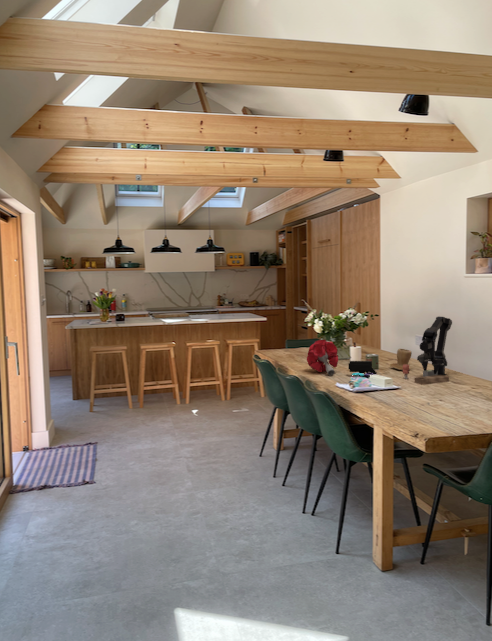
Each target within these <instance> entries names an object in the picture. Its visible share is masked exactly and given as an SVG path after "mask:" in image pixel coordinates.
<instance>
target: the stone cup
mask: <svg viewBox="0 0 492 641" xmlns="http://www.w3.org/2000/svg"><path fill="white" fill-rule="evenodd" d="M411 357H412V351H411V350H409V349H406V348H398V349H397V351H396V360H397V363H396V362H395V363H390V364H389V367H391V368H393V369H395V370H399V371H403V365H404V364H407V365H409V362H410V361H411ZM409 370H411V368H410V367H409Z"/></svg>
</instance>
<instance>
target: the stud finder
mask: <svg viewBox="0 0 492 641" xmlns="http://www.w3.org/2000/svg"><path fill="white" fill-rule="evenodd" d="M434 375H438V371H437V373H436V374H434V369H428V370H426V371H424V370H422V377H425V376H434Z"/></svg>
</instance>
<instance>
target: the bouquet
mask: <svg viewBox="0 0 492 641" xmlns="http://www.w3.org/2000/svg"><path fill="white" fill-rule="evenodd" d="M306 362H307V364H308V366H309V367H310V368H311V369H312V370H314V371H315V370H316V371H317V372H319V373H322V372H326V373H327V376H329V377H332V376H333V375H335V373H336V372H335V369H336V368H337V367H338V364H339V355H338V348H337V346H336V345H335V344H334V341H327V340H326V339H319V340H315V341H314V343H312V344H311V345H310V346H309V349H308V352H307V356H306ZM334 368H335V369H334Z"/></svg>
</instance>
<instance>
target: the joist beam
mask: <svg viewBox="0 0 492 641" xmlns="http://www.w3.org/2000/svg"><path fill="white" fill-rule="evenodd" d="M413 380H414V383H416V384H420V385H429V384H438V383H445V382H446V383H447V382H450V376H448V375H434V376H425V377H423V376H416V377H414V379H413Z"/></svg>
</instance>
